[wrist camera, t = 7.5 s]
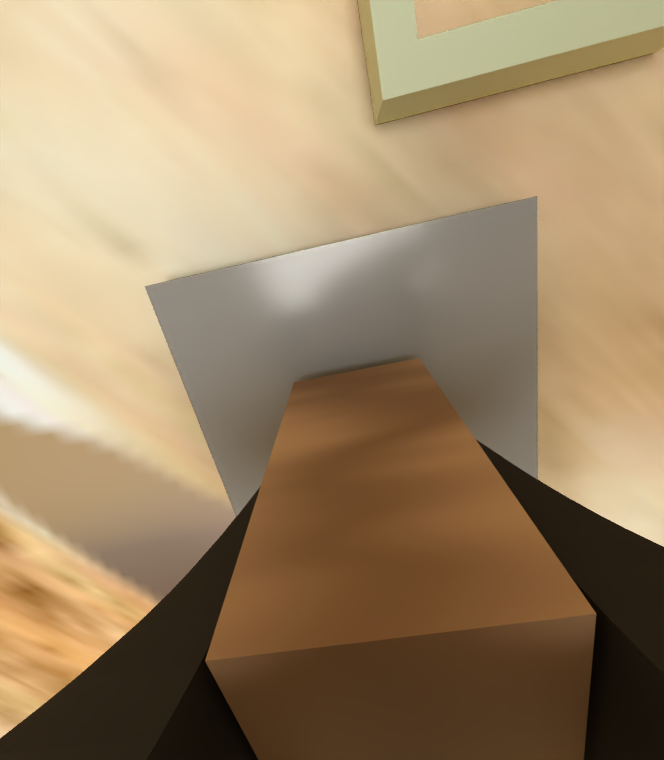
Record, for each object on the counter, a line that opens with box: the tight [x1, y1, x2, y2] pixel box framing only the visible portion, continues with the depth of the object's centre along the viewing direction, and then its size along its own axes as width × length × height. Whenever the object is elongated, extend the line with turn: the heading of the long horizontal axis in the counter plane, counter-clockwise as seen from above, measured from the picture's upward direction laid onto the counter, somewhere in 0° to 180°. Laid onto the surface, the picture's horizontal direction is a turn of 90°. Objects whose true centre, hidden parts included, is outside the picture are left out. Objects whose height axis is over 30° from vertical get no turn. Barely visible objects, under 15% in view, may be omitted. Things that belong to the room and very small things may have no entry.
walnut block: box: [205, 358, 596, 760], centre depth 8 cm, size 4×4×8 cm
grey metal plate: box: [145, 196, 538, 517], centre depth 13 cm, size 12×12×2 cm
